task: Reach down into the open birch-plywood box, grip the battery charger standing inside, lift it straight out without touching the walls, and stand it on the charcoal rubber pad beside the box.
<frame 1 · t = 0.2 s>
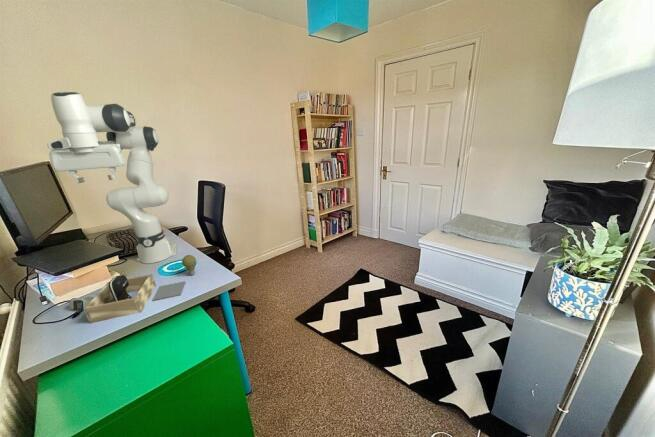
hand: (97, 181, 94), 47 cm above the table, tool pointing down, fingers open, 8 cm apart
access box: (126, 302, 100), on the table
wristwatch: (86, 306, 100), on the table
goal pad: (169, 291, 106), on the table
battery charger: (126, 303, 101), resting in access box
light bulb: (192, 275, 118), on the table
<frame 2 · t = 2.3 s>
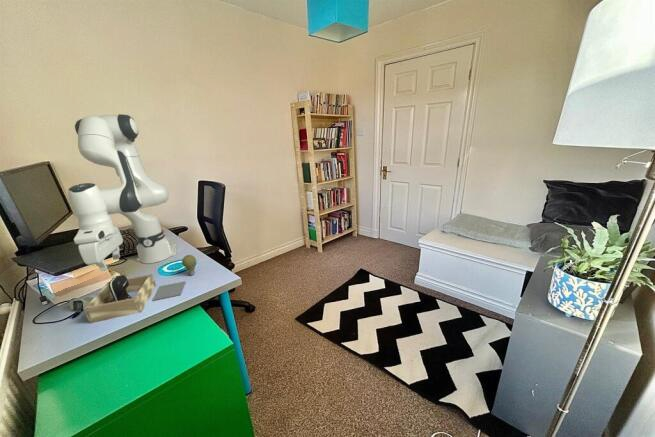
hand: (111, 264, 94), 18 cm above the table, tool pointing down, fingers open, 8 cm apart
nothing on the table moved.
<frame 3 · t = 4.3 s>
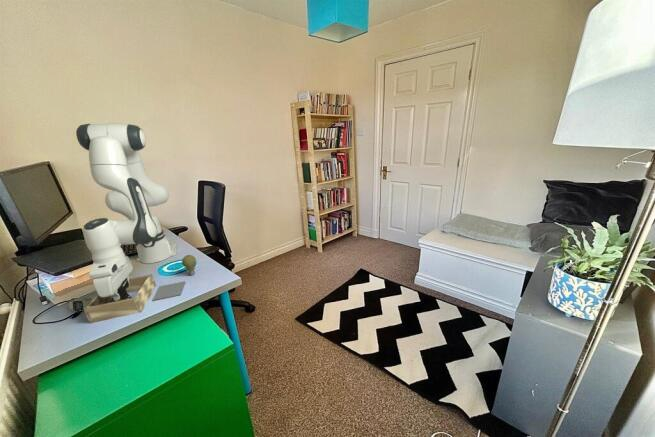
hand: (122, 292, 99), 5 cm above the table, tool pointing down, fingers closed on battery charger, 7 cm apart
battery charger: (126, 303, 101), resting in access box, touching gripper
everything else where it was.
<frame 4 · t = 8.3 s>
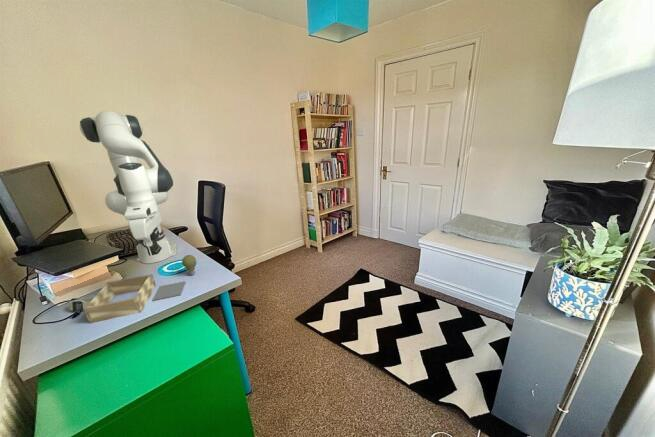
hand: (153, 241, 99), 23 cm above the table, tool pointing down, fingers closed on battery charger, 7 cm apart
battery charger: (157, 252, 100), point 18 cm above the table, touching gripper
everything else where it was.
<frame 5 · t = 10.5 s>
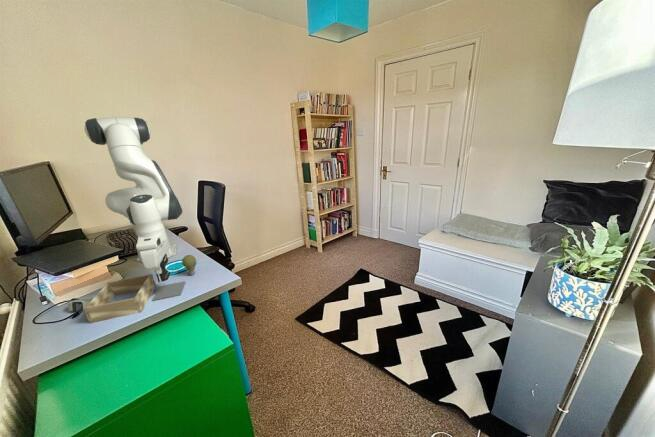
hand: (162, 268, 103), 11 cm above the table, tool pointing down, fingers closed on battery charger, 7 cm apart
battery charger: (166, 278, 104), point 6 cm above the table, touching gripper
when the fingers open (7 cm above the table, at t = 12.4 s): battery charger drops 2 cm, resting on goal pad.
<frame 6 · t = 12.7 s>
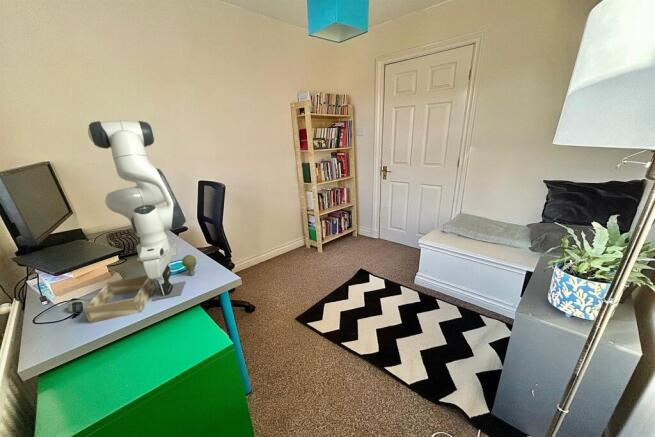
hand: (165, 276, 104), 7 cm above the table, tool pointing down, fingers open, 8 cm apart
battery charger: (169, 291, 106), resting on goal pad, touching gripper
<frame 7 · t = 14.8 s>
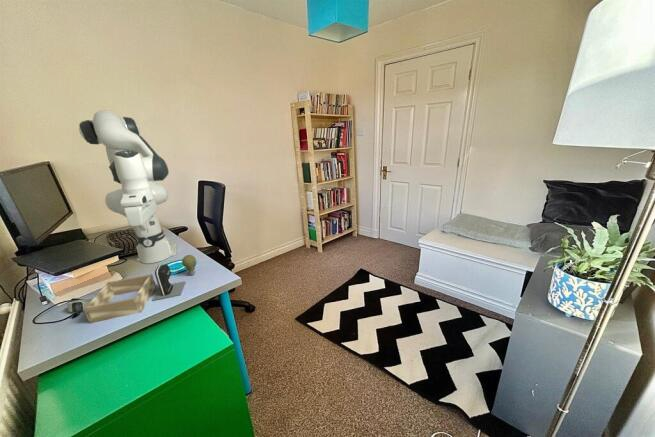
hand: (149, 229, 100), 27 cm above the table, tool pointing down, fingers open, 8 cm apart
battery charger: (169, 291, 106), resting on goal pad
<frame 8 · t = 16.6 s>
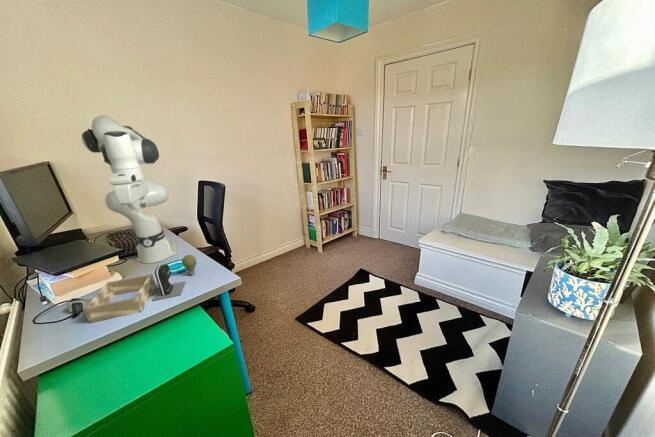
hand: (139, 210, 102), 34 cm above the table, tool pointing down, fingers open, 8 cm apart
at the end: battery charger inside the target area on the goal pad (0.5 cm from its centre), point 0.4 cm above the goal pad's base; battery charger tilted 0°; the gripper is holding nothing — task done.
